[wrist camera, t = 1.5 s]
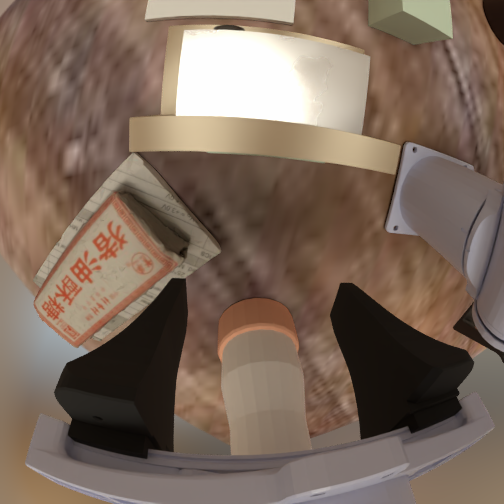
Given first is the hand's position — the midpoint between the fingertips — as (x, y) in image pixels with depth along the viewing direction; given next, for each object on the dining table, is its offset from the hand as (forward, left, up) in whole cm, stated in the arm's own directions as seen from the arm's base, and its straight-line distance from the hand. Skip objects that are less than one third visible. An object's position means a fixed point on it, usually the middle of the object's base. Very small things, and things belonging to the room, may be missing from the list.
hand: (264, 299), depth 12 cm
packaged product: (+12, +5, -10) cm, 16 cm away
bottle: (-25, -28, -10) cm, 39 cm away
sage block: (-9, -19, -10) cm, 23 cm away
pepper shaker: (-1, +11, -10) cm, 15 cm away
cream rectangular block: (0, -10, -8) cm, 13 cm away
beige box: (0, -10, -9) cm, 14 cm away
